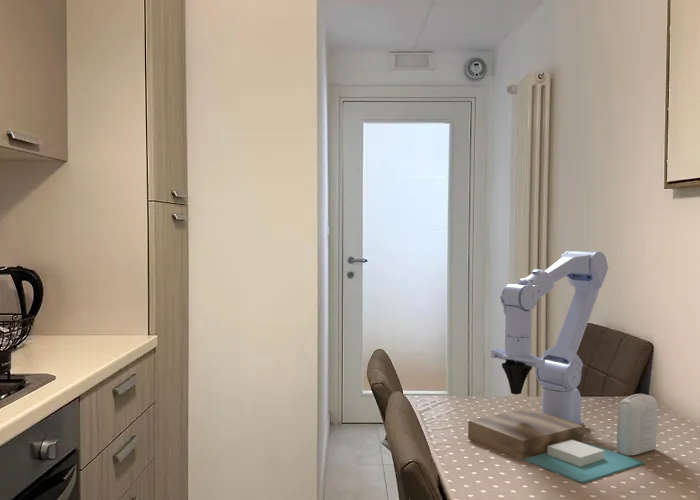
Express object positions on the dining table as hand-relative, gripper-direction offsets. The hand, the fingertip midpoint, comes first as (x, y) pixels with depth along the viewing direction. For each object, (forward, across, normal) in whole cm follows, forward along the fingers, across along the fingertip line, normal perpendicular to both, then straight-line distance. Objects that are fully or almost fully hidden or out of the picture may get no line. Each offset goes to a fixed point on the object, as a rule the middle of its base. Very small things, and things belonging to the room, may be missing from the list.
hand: (516, 393), depth 149 cm
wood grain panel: (+9, +5, -2) cm, 11 cm away
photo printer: (+10, +22, +14) cm, 28 cm away
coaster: (+9, +18, -2) cm, 20 cm away
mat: (+9, +20, -2) cm, 22 cm away
